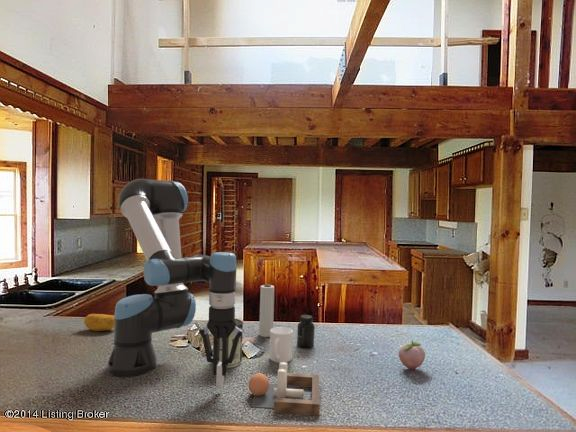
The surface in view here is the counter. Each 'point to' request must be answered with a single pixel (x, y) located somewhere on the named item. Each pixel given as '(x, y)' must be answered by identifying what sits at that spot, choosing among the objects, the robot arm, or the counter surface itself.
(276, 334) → the mug
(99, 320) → the potato
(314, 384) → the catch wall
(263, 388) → the ball
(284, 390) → the pin
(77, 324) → the counter surface
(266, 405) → the pin deck mark
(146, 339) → the robot arm
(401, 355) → the decorative fruit
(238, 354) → the coffee can
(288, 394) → the front pin
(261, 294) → the paper towel roll
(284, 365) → the pin
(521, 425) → the counter surface
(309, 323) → the supplement bottle
